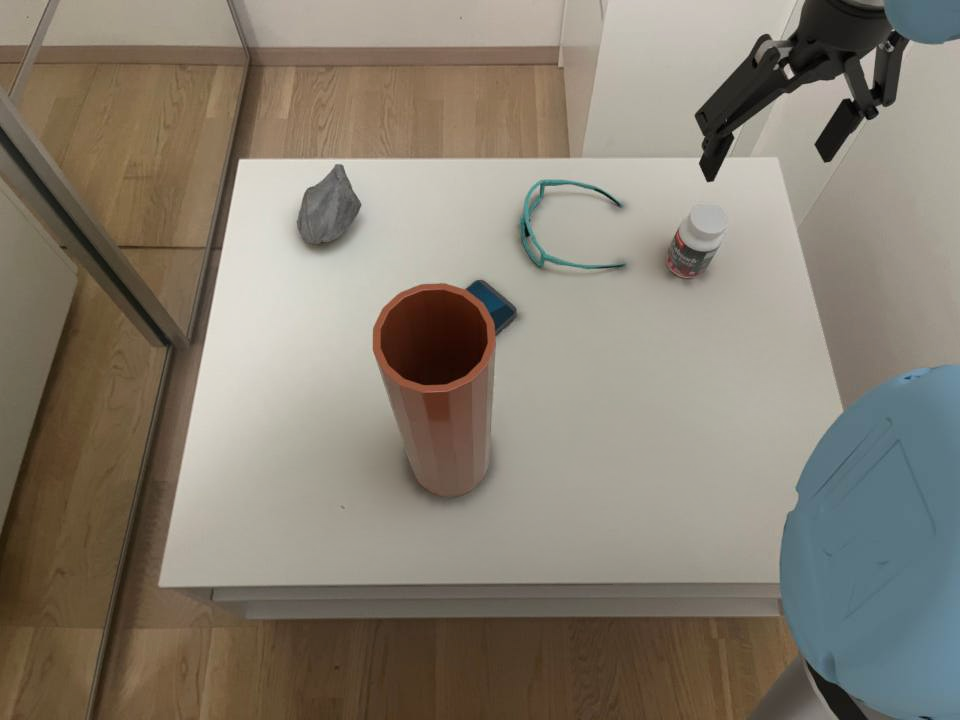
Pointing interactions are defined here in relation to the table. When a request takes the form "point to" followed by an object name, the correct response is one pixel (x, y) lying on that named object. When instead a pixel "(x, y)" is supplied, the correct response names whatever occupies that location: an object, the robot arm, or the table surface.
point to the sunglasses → (527, 232)
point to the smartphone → (494, 304)
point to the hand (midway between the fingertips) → (764, 163)
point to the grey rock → (328, 208)
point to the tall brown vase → (439, 382)
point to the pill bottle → (697, 240)
